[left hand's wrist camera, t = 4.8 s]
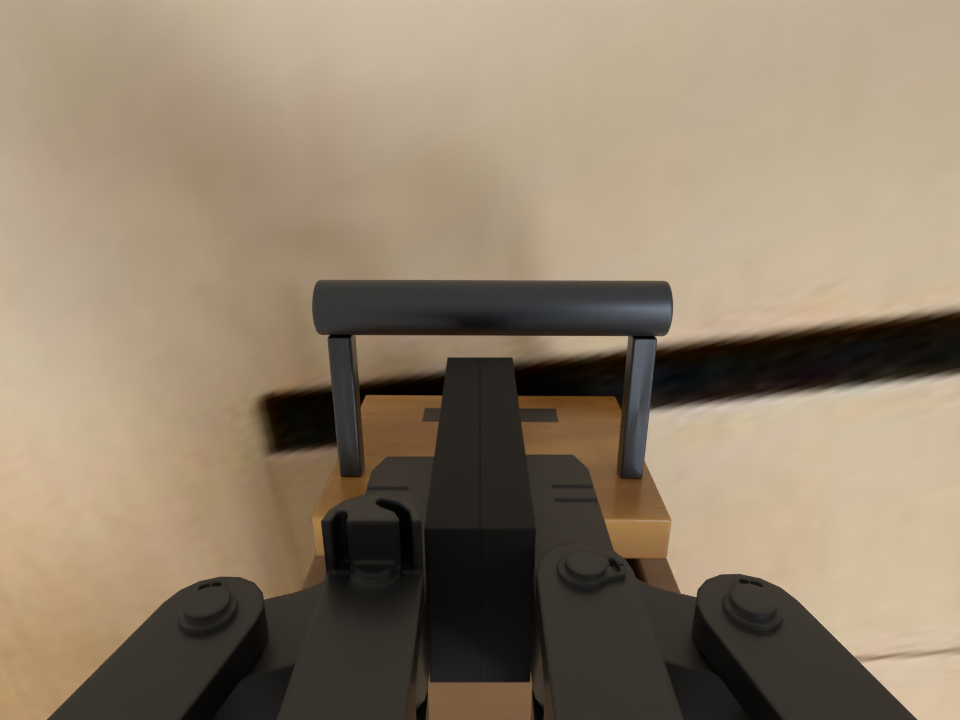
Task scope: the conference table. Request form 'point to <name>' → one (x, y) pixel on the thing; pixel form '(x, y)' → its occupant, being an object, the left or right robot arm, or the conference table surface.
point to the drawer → (545, 419)
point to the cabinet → (501, 705)
